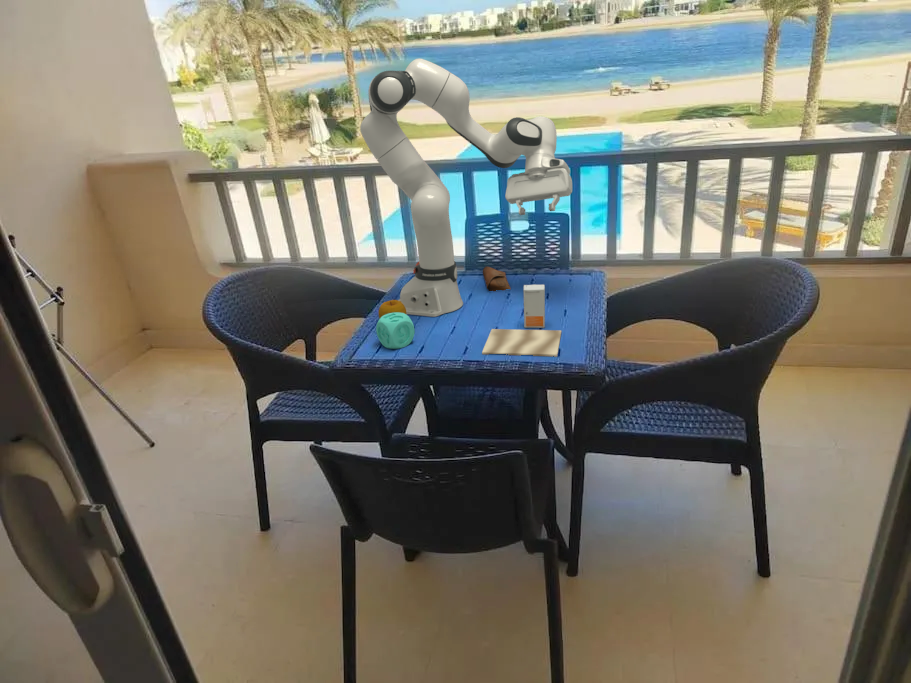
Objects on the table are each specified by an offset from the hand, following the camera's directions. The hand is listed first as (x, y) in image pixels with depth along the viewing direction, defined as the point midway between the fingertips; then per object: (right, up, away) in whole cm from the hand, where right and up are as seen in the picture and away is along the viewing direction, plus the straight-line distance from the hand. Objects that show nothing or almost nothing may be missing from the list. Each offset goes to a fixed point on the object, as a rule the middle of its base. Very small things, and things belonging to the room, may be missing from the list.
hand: (536, 212), depth 181 cm
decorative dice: (-41, -39, -5) cm, 56 cm away
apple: (-42, -34, +5) cm, 55 cm away
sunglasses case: (-10, -18, +34) cm, 40 cm away
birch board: (-5, -39, -12) cm, 41 cm away
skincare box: (-1, -34, -2) cm, 34 cm away
